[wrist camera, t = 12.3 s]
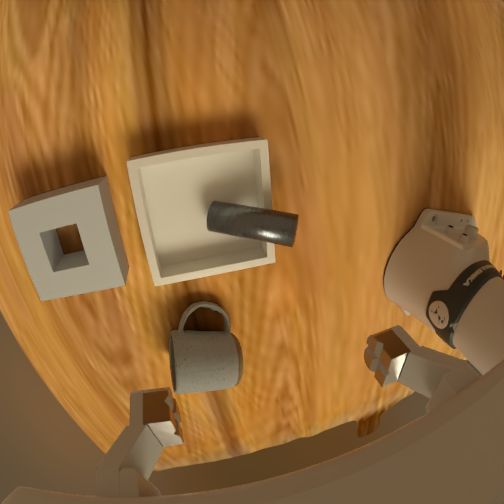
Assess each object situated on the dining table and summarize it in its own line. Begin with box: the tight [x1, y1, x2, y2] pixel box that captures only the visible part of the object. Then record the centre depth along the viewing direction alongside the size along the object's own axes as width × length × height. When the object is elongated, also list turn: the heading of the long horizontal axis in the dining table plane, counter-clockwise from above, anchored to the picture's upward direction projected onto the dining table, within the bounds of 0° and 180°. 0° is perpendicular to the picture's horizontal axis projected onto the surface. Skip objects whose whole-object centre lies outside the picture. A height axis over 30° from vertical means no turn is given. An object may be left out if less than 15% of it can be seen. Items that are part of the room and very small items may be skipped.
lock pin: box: [207, 201, 299, 247], centre depth 28 cm, size 3×3×8 cm
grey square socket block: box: [8, 176, 129, 301], centre depth 26 cm, size 10×10×4 cm
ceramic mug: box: [169, 301, 243, 394], centre depth 34 cm, size 11×8×8 cm
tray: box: [126, 137, 275, 286], centre depth 29 cm, size 13×13×3 cm
